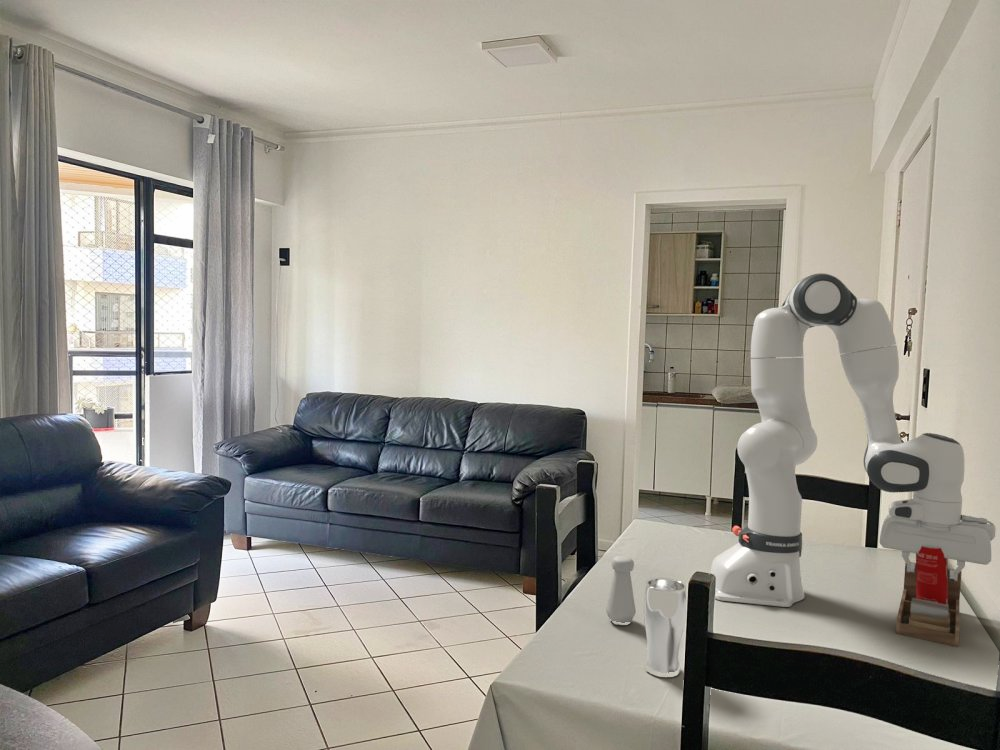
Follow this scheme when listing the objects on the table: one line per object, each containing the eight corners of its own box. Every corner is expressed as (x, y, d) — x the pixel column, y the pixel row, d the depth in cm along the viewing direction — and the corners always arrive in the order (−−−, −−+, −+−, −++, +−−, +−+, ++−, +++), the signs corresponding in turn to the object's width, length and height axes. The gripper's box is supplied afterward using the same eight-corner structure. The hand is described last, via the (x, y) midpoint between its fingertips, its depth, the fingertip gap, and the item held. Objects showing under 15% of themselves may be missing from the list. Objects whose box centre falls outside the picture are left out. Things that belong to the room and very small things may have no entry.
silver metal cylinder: (949, 636, 142) (951, 613, 141) (908, 628, 145) (910, 604, 145) (949, 628, 146) (951, 605, 146) (909, 620, 150) (911, 597, 149)
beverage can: (952, 620, 150) (957, 549, 149) (917, 617, 151) (922, 546, 150) (940, 610, 155) (945, 541, 154) (907, 606, 157) (912, 538, 156)
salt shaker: (612, 629, 140) (615, 563, 139) (600, 617, 146) (603, 554, 145) (640, 626, 142) (643, 561, 141) (627, 615, 147) (630, 552, 146)
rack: (958, 646, 137) (961, 600, 136) (895, 632, 142) (898, 588, 142) (958, 612, 155) (961, 570, 154) (903, 601, 160) (905, 561, 160)
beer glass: (676, 660, 127) (680, 577, 126) (688, 680, 120) (692, 592, 119) (637, 660, 127) (641, 576, 126) (646, 679, 120) (650, 591, 119)
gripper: (995, 516, 149) (990, 582, 150) (883, 501, 160) (879, 562, 161) (996, 523, 144) (991, 591, 144) (881, 506, 154) (876, 570, 155)
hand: (931, 576), depth 153 cm, fingers open, 6 cm apart
